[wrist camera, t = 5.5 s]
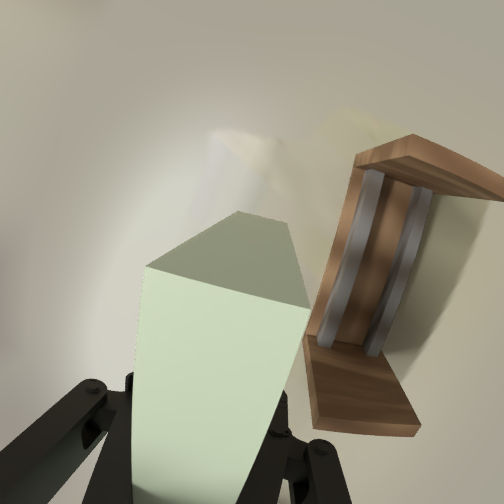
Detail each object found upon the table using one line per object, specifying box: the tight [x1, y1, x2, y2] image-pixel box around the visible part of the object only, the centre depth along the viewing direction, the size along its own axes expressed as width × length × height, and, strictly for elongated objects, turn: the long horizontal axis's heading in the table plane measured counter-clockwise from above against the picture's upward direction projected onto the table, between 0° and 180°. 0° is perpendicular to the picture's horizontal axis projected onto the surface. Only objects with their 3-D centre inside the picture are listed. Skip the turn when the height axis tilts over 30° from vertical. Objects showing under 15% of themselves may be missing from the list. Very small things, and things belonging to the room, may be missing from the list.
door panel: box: [131, 211, 311, 504], centre depth 14 cm, size 16×4×14 cm, turn 166°
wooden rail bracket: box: [302, 134, 504, 437], centre depth 28 cm, size 23×10×16 cm, turn 167°
